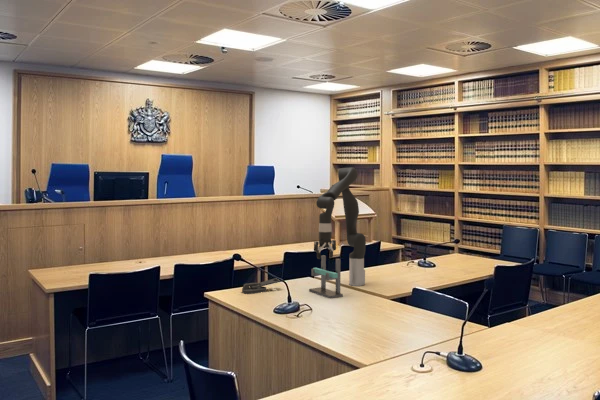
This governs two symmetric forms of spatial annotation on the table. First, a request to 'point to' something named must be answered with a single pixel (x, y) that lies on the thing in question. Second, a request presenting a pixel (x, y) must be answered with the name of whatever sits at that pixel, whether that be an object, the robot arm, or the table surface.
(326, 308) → the table surface
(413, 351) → the table surface
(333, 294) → the hook rack
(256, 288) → the dark grey elongated piece
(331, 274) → the teal rail
